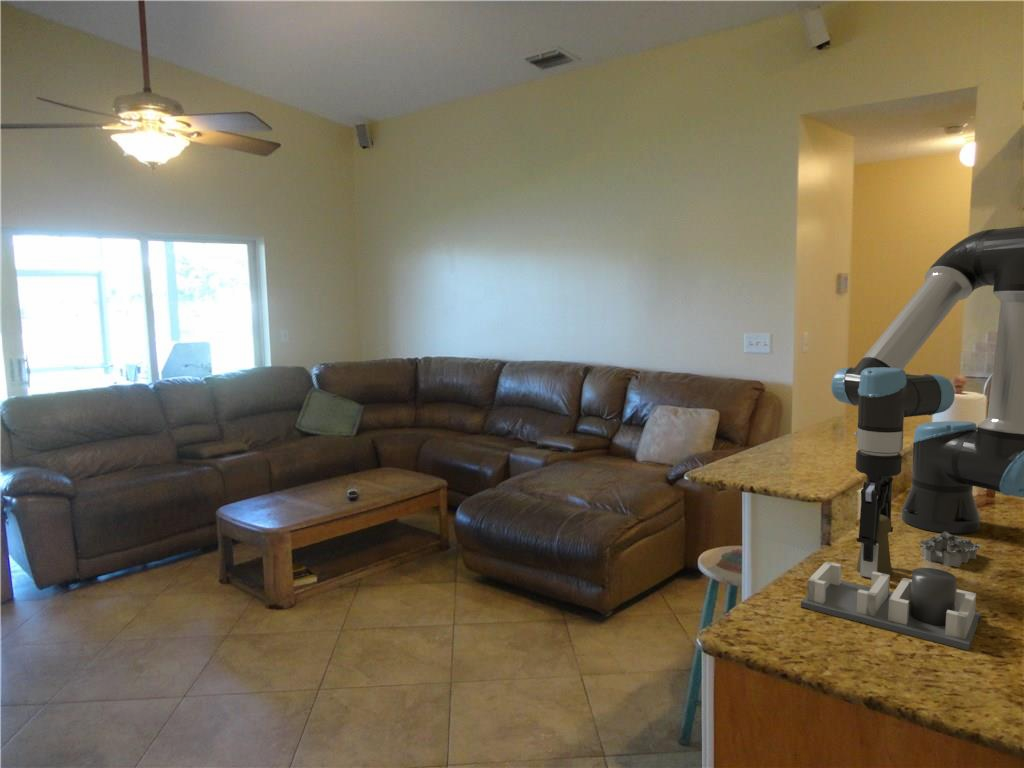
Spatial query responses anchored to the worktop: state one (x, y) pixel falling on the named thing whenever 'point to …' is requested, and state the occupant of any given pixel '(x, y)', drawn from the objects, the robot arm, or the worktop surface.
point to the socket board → (899, 604)
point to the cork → (882, 547)
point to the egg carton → (948, 549)
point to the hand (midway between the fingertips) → (873, 570)
